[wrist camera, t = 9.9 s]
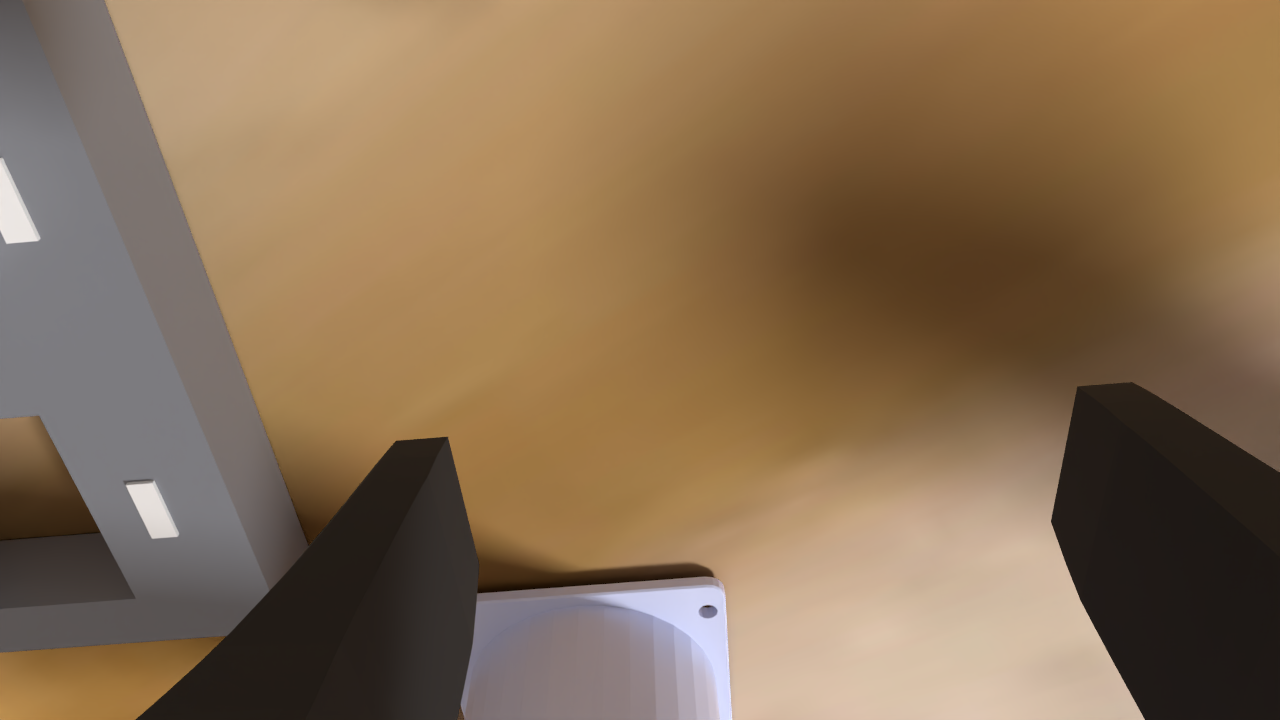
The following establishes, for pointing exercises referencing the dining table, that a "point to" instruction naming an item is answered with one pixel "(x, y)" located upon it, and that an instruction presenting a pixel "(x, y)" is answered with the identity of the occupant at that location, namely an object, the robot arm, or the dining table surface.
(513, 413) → the dining table surface
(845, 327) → the dining table surface
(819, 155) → the dining table surface
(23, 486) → the dining table surface
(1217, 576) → the robot arm
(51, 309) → the port panel
